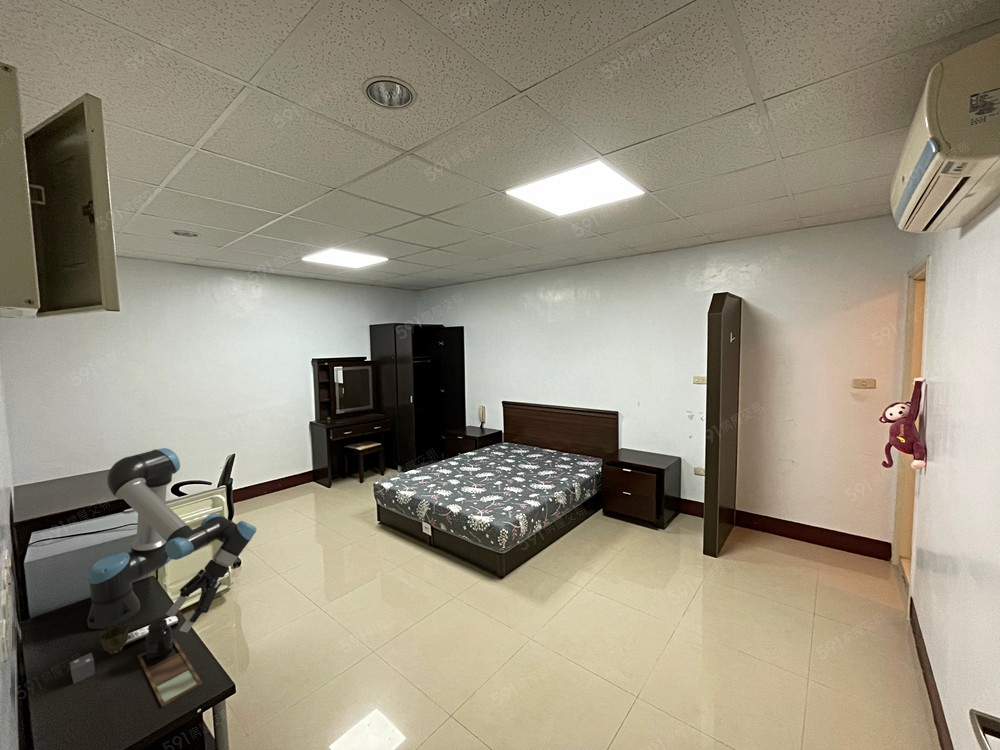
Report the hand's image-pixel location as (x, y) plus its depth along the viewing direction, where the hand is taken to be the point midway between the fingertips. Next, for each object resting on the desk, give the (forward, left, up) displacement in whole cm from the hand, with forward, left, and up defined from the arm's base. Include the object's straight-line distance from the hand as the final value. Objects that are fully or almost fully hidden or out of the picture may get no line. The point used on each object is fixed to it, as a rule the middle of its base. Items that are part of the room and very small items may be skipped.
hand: (176, 623), depth 143 cm
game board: (+10, 0, -10) cm, 14 cm away
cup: (-7, -20, -10) cm, 23 cm away
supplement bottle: (+1, -5, -10) cm, 11 cm away
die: (+1, -25, -10) cm, 27 cm away
